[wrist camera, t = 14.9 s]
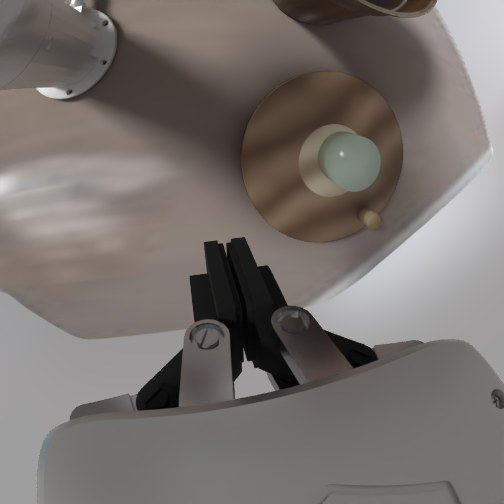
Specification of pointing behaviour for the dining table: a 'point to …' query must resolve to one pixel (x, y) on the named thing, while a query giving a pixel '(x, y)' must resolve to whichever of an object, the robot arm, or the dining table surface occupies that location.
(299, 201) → the disc
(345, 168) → the sage green rounded cylinder
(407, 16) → the plant pot
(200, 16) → the dining table surface
